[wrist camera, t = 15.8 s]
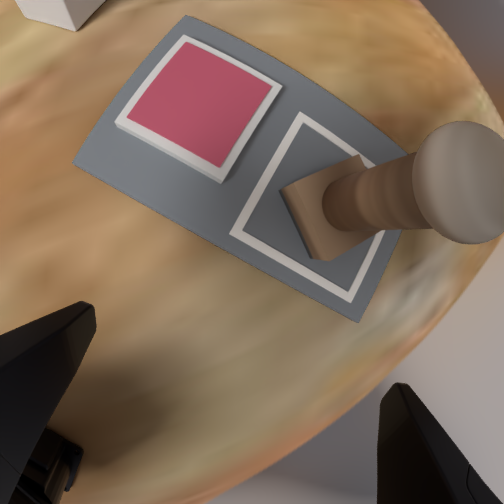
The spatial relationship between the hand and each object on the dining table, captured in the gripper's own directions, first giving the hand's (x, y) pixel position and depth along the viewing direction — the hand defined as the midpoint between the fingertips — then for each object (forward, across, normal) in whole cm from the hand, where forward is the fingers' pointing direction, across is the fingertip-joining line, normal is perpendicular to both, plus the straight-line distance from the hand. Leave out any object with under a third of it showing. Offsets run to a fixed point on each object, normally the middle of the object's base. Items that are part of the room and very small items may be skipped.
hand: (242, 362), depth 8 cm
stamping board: (+16, +1, -2) cm, 16 cm away
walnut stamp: (+15, -3, 0) cm, 15 cm away
